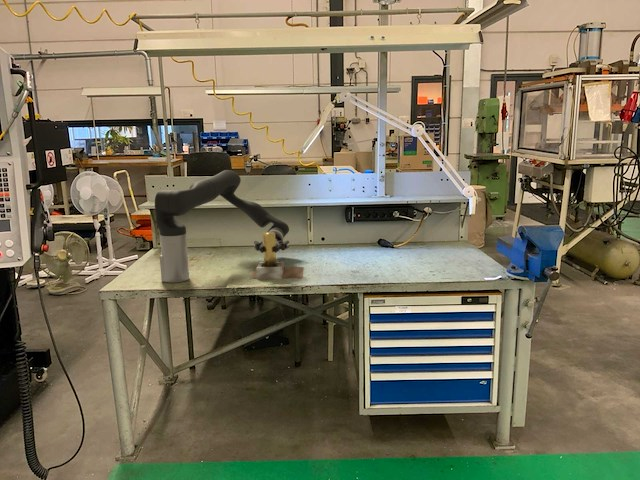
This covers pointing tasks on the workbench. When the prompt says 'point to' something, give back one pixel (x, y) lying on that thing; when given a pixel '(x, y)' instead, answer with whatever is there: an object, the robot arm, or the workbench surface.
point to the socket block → (277, 272)
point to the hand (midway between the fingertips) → (268, 249)
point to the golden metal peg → (269, 249)
